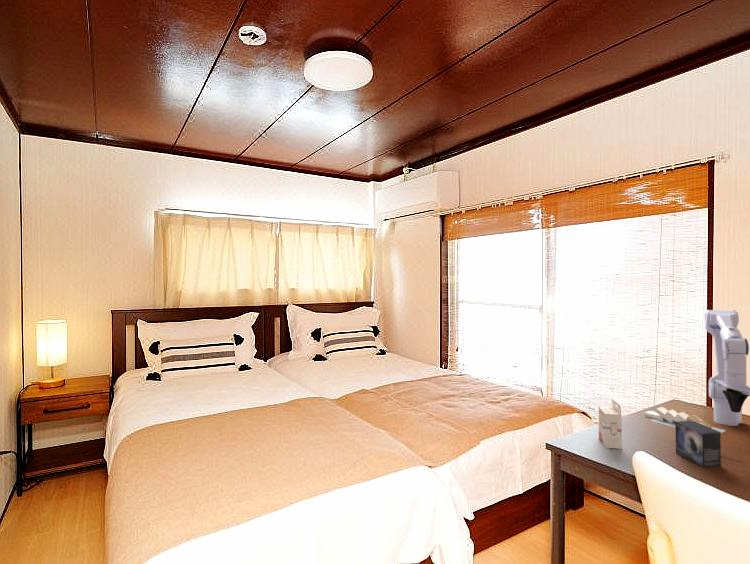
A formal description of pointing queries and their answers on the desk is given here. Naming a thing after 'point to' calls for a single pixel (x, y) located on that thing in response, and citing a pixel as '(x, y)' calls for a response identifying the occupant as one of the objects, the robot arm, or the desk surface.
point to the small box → (698, 443)
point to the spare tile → (698, 420)
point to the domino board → (674, 424)
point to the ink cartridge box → (610, 426)
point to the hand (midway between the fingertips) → (735, 411)
